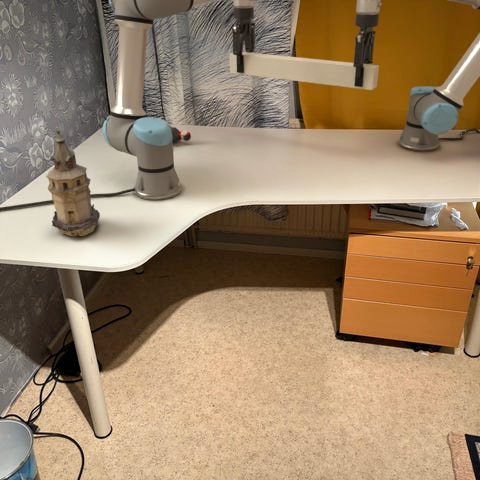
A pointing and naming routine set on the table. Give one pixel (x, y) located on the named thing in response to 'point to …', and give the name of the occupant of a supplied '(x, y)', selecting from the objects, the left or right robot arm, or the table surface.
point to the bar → (305, 70)
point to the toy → (179, 135)
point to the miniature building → (70, 193)
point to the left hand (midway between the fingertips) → (244, 70)
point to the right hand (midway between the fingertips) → (361, 84)
